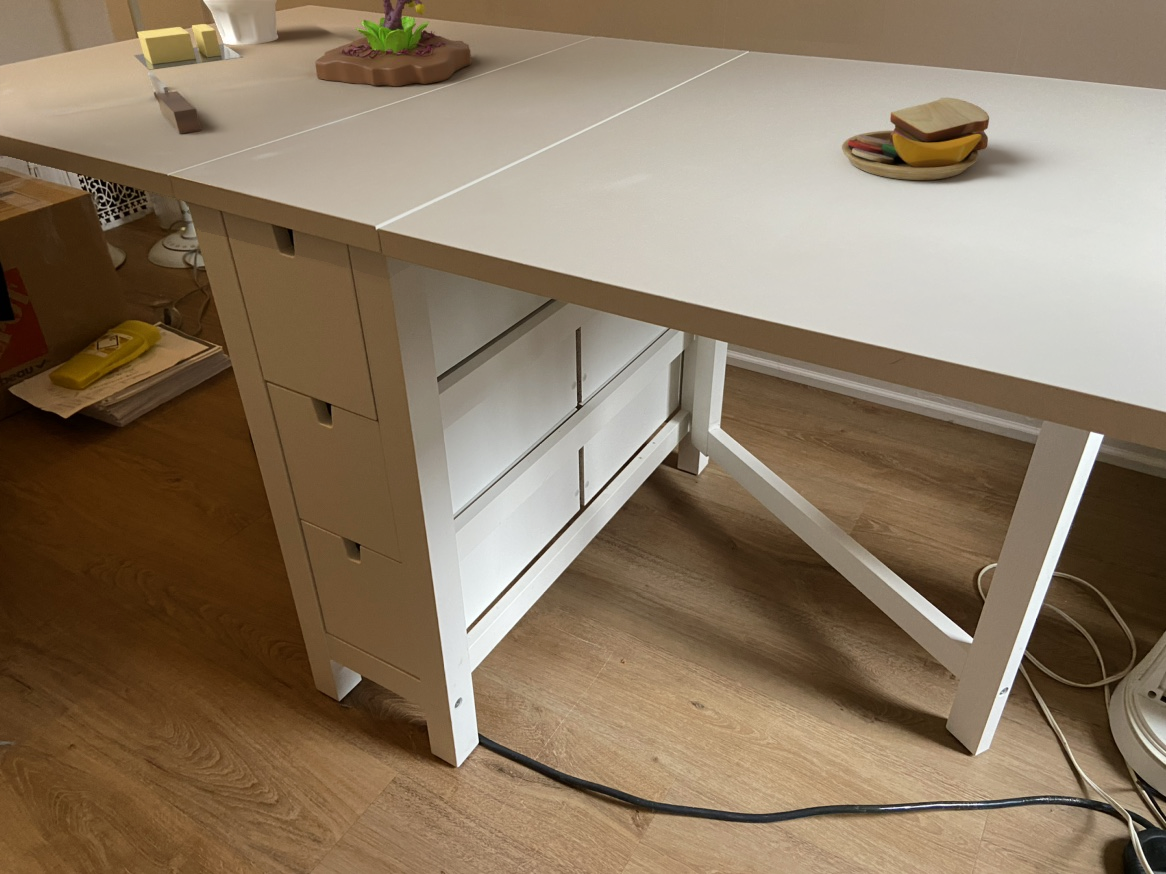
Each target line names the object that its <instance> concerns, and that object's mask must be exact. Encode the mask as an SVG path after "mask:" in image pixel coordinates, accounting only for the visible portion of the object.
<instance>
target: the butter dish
mask: <svg viewBox="0 0 1166 874" xmlns="http://www.w3.org/2000/svg"><path fill="white" fill-rule="evenodd" d="M219 48H220V52H221V56H215V57H206V56H205V55H204V54H202V53H201V52H200V51H198V48H197V46H196V47H195V46H194V47H193V49H194V53H195V57H196V59H192V60H185V61H177V62H170V63H162V64H155V65H152V64H151V63H150V62H149V61H148V60H147V59H146V58H145V57H144V54H143V53H142V54H140V53H139V54H134V55H133V56H134V57H135V58H136V59H137V60H138V61H139V62H140V63H141V64H142V65H143V66H144V67H145V68H146V69H147V70H148V71H153V70H160V69H168V68H169V69H170V68H177V67H182V66H183V67H184V66H190V65H197V64H198V65H199V64H204V63H213V62H220V61H227V60H228V61H229V60H233V59H234V60H235V59H241V58H243V56H242V54H241V55H240V53H238V52H237V51H235V50H233V49H232V48H230V47H228V45H226V44H225V43H219Z"/></svg>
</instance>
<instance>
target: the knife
mask: <svg viewBox="0 0 1166 874" xmlns="http://www.w3.org/2000/svg"><path fill="white" fill-rule="evenodd" d="M147 74H148V77H149V81H150V84H151V88H152V90H153V91H154V92H153V95H154V98H155V99H157V102H158V106H159V109H160V112H161V115H162V116H163V117H164V118H165V119H166V120H167V122H168V123H169V124H170V125H171V127H173V129H175V131H177V133H178V134H179V135H182V134H189V133H194V132H200V131H202V126H201V122H200V119H199V116H198V112H197V108H195V106H193V105H192V104H191V103H190V102H189V101H188V100H187V99H186V98H185V97H184V96H183V95H182V94H181V93H180V92H179V91H177V90H176V91H175V90H174V91H169V90H168V86H166V85H165V84H164V82H162V81H161V80H160V79H159V78H158V77H157V76H156V75H155V74H154V72H152V71H148V72H147Z"/></svg>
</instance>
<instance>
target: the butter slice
mask: <svg viewBox="0 0 1166 874" xmlns="http://www.w3.org/2000/svg"><path fill="white" fill-rule="evenodd" d="M191 28H192V33H193V35H194V41H195V43H196V44H195V45H196V47H197V48H198V51H200V52H201V53H202V54H204V55H205V56H206V57H215V56H221V52H220V48H219V44H220V43H219V40H218V35H217V32H216V29H215V28H213V27H211V26H210V25H208V24H206V23H201V24H193V25H191Z"/></svg>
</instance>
